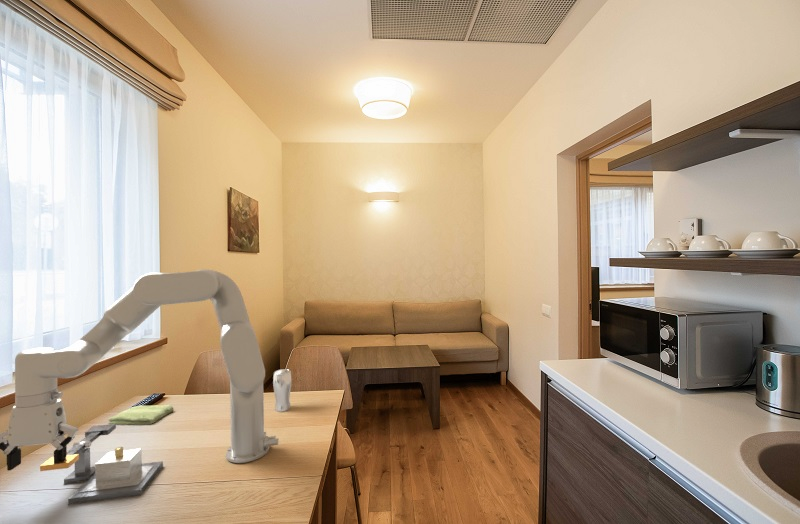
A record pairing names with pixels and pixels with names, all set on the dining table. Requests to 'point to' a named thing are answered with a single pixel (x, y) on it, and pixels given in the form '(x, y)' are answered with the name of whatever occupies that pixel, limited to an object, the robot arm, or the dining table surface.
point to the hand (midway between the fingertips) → (37, 465)
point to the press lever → (78, 448)
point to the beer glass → (282, 389)
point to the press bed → (93, 493)
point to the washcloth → (141, 415)
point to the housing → (118, 467)
